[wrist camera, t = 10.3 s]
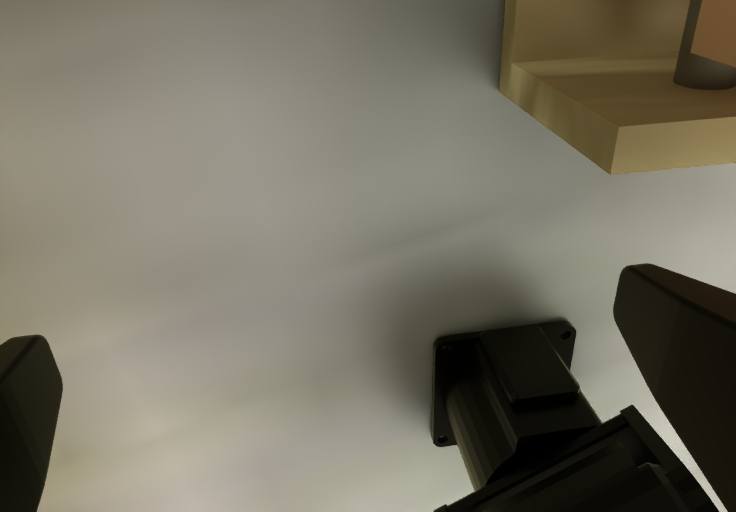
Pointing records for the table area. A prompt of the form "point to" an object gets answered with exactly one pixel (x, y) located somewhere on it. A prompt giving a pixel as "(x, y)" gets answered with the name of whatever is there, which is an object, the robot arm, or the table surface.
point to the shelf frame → (620, 81)
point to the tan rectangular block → (716, 31)
